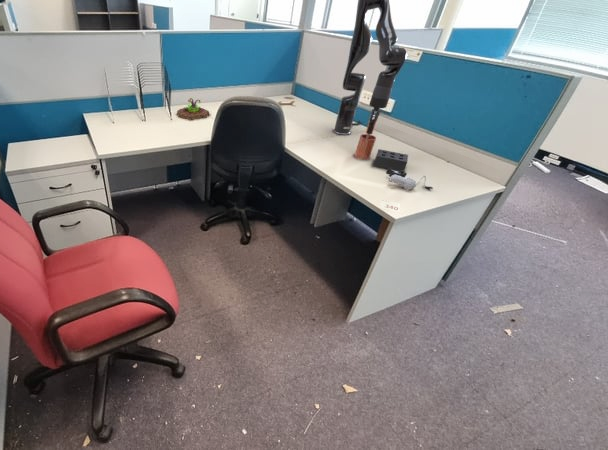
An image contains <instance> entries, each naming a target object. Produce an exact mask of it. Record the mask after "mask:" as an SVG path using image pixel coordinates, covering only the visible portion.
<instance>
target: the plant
mask: <svg viewBox="0 0 608 450" xmlns="http://www.w3.org/2000/svg"><path fill="white" fill-rule="evenodd" d="M187 102H188V104H186V106H185V107H182V108H179V109H178V110H177V111H176V113H177V116H178V117H179V118H181V119H185V120H189V121H194V120H200V119H205V118H208V116H210V111H209V110H208V109H206V108H203V107H201V106H199V104H197V102H198V103H202V101H201V100H200V99H196V100H195V101H194V99H193V98H191V97H189V99H188V100H187ZM189 103H191V104H189Z"/></svg>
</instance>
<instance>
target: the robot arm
mask: <svg viewBox="0 0 608 450" xmlns="http://www.w3.org/2000/svg"><path fill="white" fill-rule="evenodd" d="M375 9H378V11H379V17H378V20H377V24H376V25H375V36H376V38H377V42H378V45H379V46H378V47H379V48H378V52H379V53H378V58H379V62H380V64H381V65H382V66H384V67H385V66H387V68H386V69H384V70H382V71H380V72H379V73H378V76H377V80H376V83H375V86H374V88H373V91H372V94H371V97H370V101H369V106H370V107H371V108H373V109H371V111H370V116H369V119H368V120H369V121H370V122H369V121H368V125H369V127H368V125H367V127H368V130H367V129H366V131H367V133H368V134H370V135H372V134H373V133H372V130H373V127H374V126H375V127H376V124H375V122H376V123H377V121H378V120H379V117H380V115H381V113H382V112H381V111H382V110H381V109H386V108H387V106H388V104H389V100H390V98H391V94H392V91H393V86H394V83H395V80H396V78H397V76H398V74H399V73H400V72H401V71H400V70H401V69H402V68H403V66H404V64H405V62H406V60H407V56H408V52H407V49H406V48H404V47H401V46H400V47H399V46H398V47H393V46H394V45H396V43H397V41H398V36H397V33H396V31H395V27H394V24H393V19H392V13H391V4H390V0H357V6H356V13H355V21H354V27H353V28H354V29H353V34H352V38H351V41H350V47H349V54H348V59H347V64H346V68H345V71H344V72H345V73H344V76H343V81H342V89H343V90H344V91H348V92H349V91H350V92H354V93H352V94H349V95H343V97H342V98H341V100H340V104H339V107H338V112H337V116H336V120H335V125H334V128H333V133H335V134H338V135H342V136H346V135H349V134H350V133H351V129H352V126H358V125H360V124H361V123H362V121H361V122H359V121H358V122H357V123H355V122H354V119H355V115H356V111H357V108H358V104H359V101H360V98H361V93H362V91H363V88H364V85H365V82H366V74H365V73H359V72H353V70H354V69H355V67H356V66H357V65H358V64H359V63H360V62H361V61H362V60H363V59H364V58H365V57H366V56H367V55H368V54H369V52H370V49H371V45H372V40H373V36H372V35H373V34H372V32H371V30H370V27H369V25H368V23H367V13H368V11H371V10H375ZM353 122H354V123H353ZM371 122H374V123H371ZM375 127H374V128H375ZM373 131H374V130H373ZM371 133H372V134H371Z"/></svg>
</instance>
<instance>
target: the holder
mask: <svg viewBox="0 0 608 450" xmlns="http://www.w3.org/2000/svg"><path fill="white" fill-rule="evenodd" d="M408 160H409V154H408V153H402V152H397V151H390V150H385V149H380V148H378V149H377V152H376V155H375V158H374V162H373V165H372V167H374V168H378V169H383V170H386V171H387V170H388V169H392V170H396V171H399V172H401V171H404V172H405V169H406V167H407V164H408Z"/></svg>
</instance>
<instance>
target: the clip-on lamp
mask: <svg viewBox="0 0 608 450" xmlns="http://www.w3.org/2000/svg"><path fill="white" fill-rule="evenodd" d="M385 174H386V175H388V176H387V180H390V182H391V183H393V184H397V185H399V186H401V187H402V188H403V189H405V190H408V191H411V190H412V189H414V188H416V186H417V185H419V183H420V182H421V181H422V180H423V178H424V180H423V186H424V188H425V189H426V190H434V187H433V186H426V180H427V177H426V175H423V176H422V177H421V178H420V179H419V181H418V182H417V183H416V179H414V178H413V177H406V176H407V174H408V173H407V172H405V170H404V171H401V172H399V171H396V170H392V169H388V170H387V169H386V171H385Z"/></svg>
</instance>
